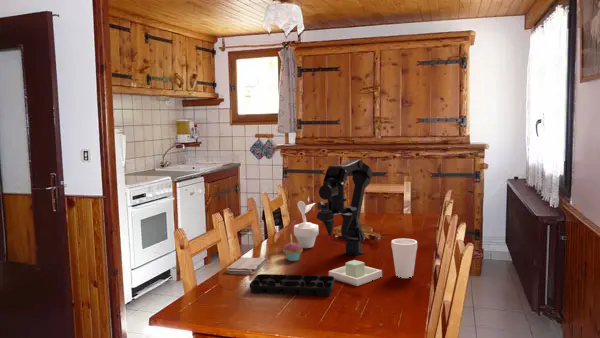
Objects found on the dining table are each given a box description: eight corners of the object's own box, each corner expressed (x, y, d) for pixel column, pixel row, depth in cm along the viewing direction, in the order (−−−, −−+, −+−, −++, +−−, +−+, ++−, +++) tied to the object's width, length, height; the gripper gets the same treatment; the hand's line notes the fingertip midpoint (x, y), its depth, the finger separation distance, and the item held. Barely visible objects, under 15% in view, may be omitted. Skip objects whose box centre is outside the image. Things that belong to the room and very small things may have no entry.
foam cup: (418, 272, 190) (418, 239, 189) (416, 280, 181) (415, 245, 180) (393, 270, 193) (393, 237, 192) (389, 278, 184) (389, 243, 183)
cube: (354, 272, 190) (354, 259, 189) (364, 275, 186) (364, 262, 186) (345, 275, 187) (345, 262, 186) (355, 278, 183) (355, 265, 182)
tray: (353, 269, 196) (353, 263, 196) (382, 276, 186) (382, 270, 186) (328, 277, 187) (328, 271, 187) (357, 286, 177) (357, 279, 176)
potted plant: (305, 251, 225) (304, 196, 222) (289, 246, 233) (287, 193, 231) (325, 246, 233) (324, 193, 230) (309, 241, 242) (307, 190, 239)
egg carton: (338, 297, 167) (338, 286, 167) (248, 301, 166) (247, 290, 166) (332, 280, 185) (332, 270, 184) (251, 283, 184) (251, 273, 183)
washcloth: (225, 275, 195) (224, 267, 194) (240, 262, 212) (240, 254, 212) (254, 276, 192) (253, 268, 192) (267, 263, 209) (267, 256, 209)
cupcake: (300, 262, 207) (299, 234, 206) (280, 262, 209) (279, 233, 208) (304, 257, 215) (303, 229, 214) (285, 256, 217) (284, 229, 216)
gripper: (338, 191, 216) (338, 227, 217) (306, 197, 203) (307, 234, 205) (357, 194, 208) (358, 230, 209) (326, 199, 195) (327, 239, 197)
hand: (337, 233), depth 205 cm, fingers open, 9 cm apart
